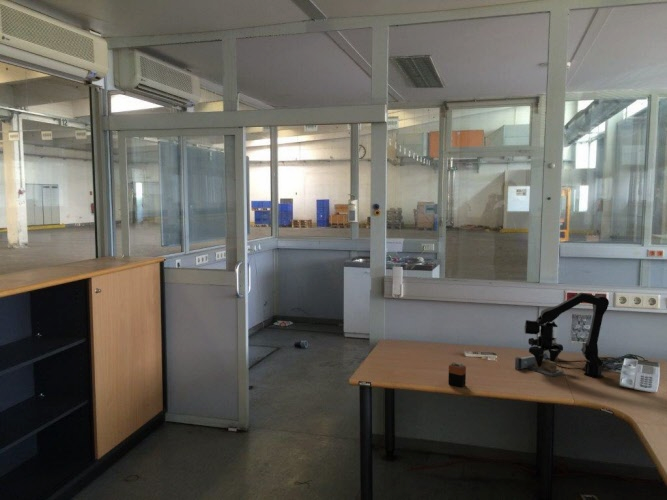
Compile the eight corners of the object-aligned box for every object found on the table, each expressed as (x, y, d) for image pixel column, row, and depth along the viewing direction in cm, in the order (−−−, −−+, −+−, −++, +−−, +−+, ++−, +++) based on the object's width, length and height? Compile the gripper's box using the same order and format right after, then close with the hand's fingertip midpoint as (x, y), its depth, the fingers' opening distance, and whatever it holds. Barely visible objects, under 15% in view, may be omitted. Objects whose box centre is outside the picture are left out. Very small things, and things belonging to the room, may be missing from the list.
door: (539, 363, 265) (539, 354, 265) (543, 364, 263) (544, 355, 262) (518, 367, 257) (519, 358, 257) (522, 369, 255) (523, 359, 255)
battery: (452, 382, 236) (452, 361, 236) (465, 385, 232) (466, 364, 231) (447, 384, 233) (448, 363, 232) (461, 387, 229) (462, 366, 228)
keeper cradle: (563, 374, 249) (563, 371, 248) (552, 376, 245) (552, 373, 245) (538, 366, 261) (538, 363, 261) (527, 368, 257) (528, 365, 257)
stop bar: (556, 372, 250) (556, 362, 249) (551, 373, 248) (551, 364, 247) (539, 367, 258) (539, 357, 258) (534, 368, 256) (534, 358, 256)
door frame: (542, 363, 266) (542, 352, 266) (545, 364, 265) (545, 353, 264) (515, 369, 257) (515, 357, 256) (518, 370, 255) (518, 358, 254)
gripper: (545, 329, 263) (544, 358, 264) (520, 333, 254) (519, 363, 255) (564, 334, 253) (563, 364, 254) (539, 338, 244) (537, 370, 246)
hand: (545, 365), depth 253 cm, fingers open, 9 cm apart
